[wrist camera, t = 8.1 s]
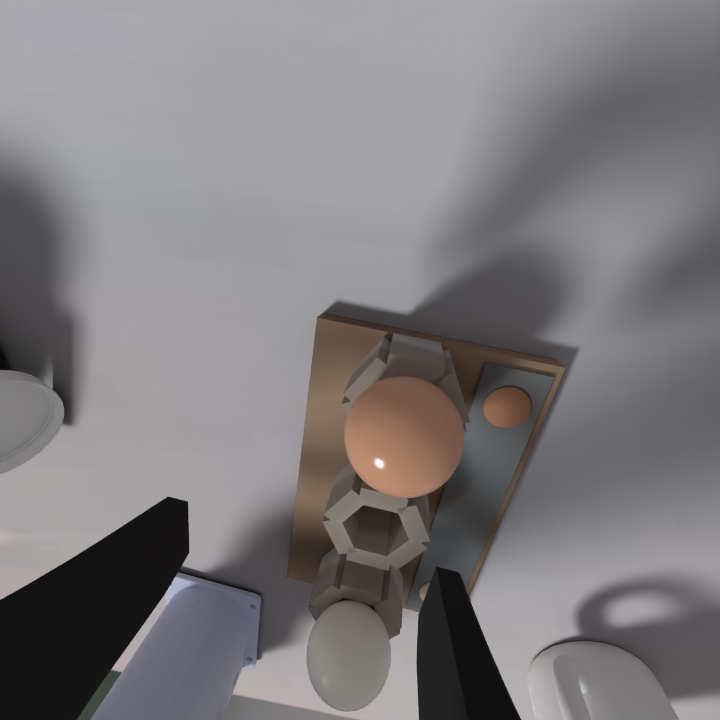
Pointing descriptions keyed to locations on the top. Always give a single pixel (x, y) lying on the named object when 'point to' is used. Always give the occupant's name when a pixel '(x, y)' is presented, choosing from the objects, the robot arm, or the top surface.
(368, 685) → the cream ball
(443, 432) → the terracotta ball
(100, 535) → the top surface
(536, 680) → the mug
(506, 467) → the brown egg holder tray
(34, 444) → the spread jar
